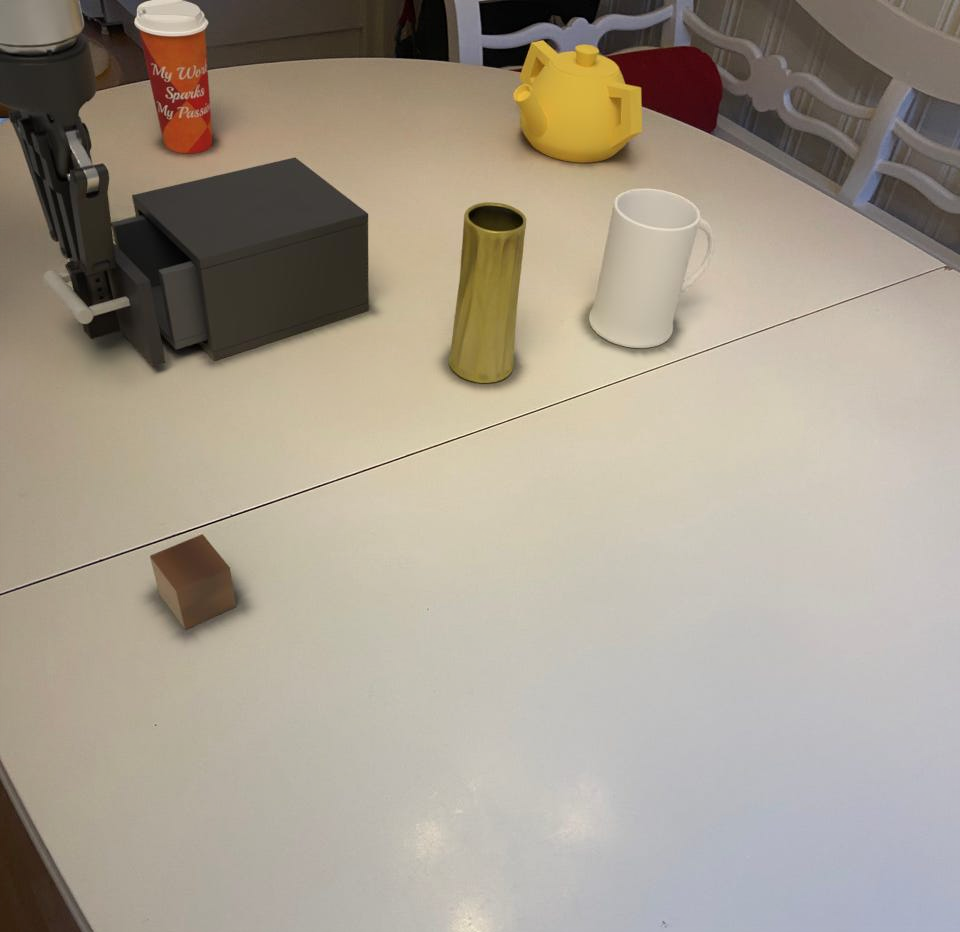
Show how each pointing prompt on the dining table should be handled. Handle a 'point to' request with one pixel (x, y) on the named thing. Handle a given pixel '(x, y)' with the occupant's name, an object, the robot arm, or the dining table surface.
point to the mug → (646, 266)
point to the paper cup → (177, 71)
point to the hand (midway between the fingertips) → (102, 330)
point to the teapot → (576, 104)
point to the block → (193, 581)
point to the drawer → (145, 290)
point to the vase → (488, 292)
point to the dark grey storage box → (266, 251)
